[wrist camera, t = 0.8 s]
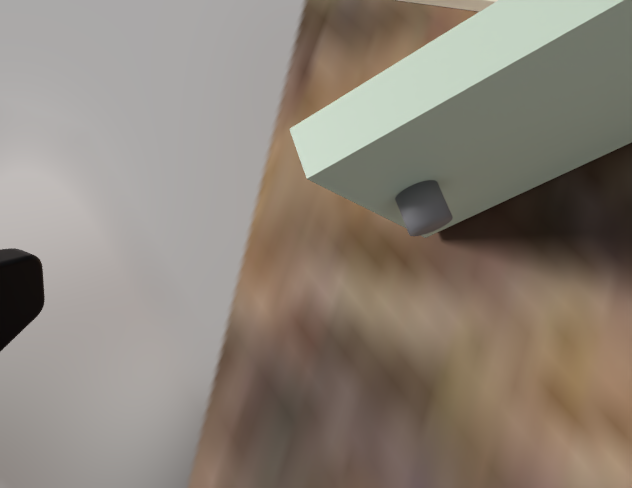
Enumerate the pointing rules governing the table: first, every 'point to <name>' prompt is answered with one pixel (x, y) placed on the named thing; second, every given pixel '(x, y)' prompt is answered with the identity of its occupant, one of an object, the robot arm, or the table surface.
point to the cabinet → (457, 3)
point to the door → (479, 113)
